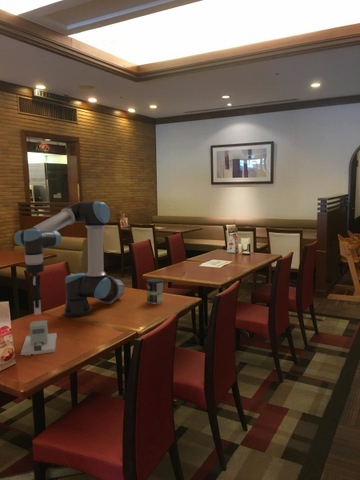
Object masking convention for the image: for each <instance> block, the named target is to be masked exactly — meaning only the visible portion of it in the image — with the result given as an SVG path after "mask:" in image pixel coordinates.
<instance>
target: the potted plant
mask: <svg viewBox="0 0 360 480" xmlns="http://www.w3.org/2000/svg"><path fill="white" fill-rule="evenodd" d="M106 278H108V279H109V280H110V282H111V287H110V291H109V293H108V295H107V296H106V297H104V298H97V300H98V302H99V303H101V304H106V305H107V304H109V305H111V304H113V303H114V302H115V301H116V300H119V299H120V298H122V296H124V294H125V284H124V283H123V281H122V280H121V279H117V278H114V277H113V276H111V275H106Z"/></svg>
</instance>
